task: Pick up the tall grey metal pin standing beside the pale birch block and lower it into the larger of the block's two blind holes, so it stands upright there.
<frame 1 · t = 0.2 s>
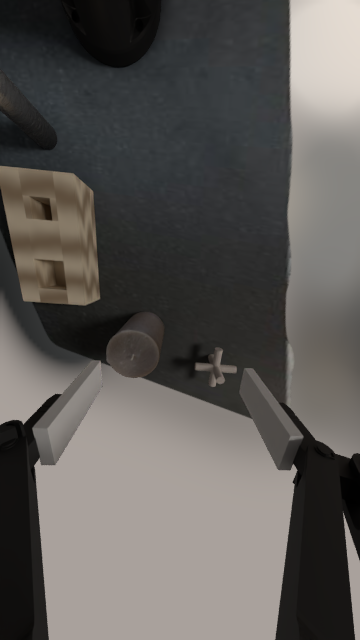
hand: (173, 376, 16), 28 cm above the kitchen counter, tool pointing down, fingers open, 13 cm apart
pipe connector: (211, 356, 47), on the kitchen counter
pillar candle: (145, 328, 44), on the kitchen counter
pin: (45, 136, 32), on the kitchen counter
hole block: (68, 247, 37), on the kitchen counter
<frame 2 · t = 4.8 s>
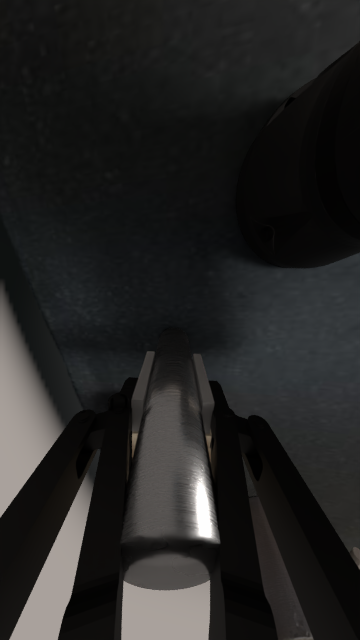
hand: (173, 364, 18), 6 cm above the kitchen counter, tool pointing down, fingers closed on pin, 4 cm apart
pillar candle: (254, 508, 35), on the kitchen counter
pin: (173, 341, 23), on the kitchen counter, touching gripper
when the fingers open (8 cm above the kitchen counter, at t = 11.1 s): pin stays where it is, resting on hole block.
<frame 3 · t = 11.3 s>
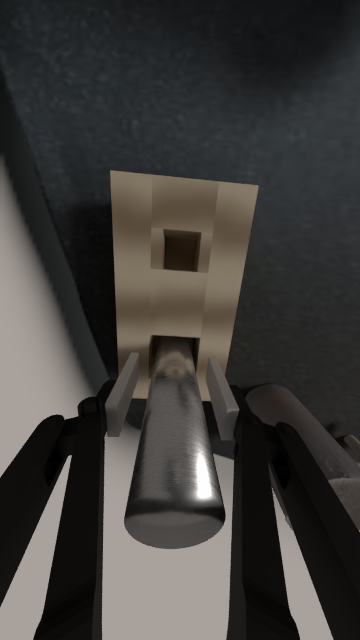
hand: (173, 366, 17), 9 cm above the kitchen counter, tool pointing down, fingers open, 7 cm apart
pipe connector: (347, 437, 33), on the kitchen counter
pillar candle: (265, 404, 30), on the kitchen counter
pin: (173, 338, 24), point 2 cm above the kitchen counter, touching hole block
hole block: (176, 297, 24), on the kitchen counter
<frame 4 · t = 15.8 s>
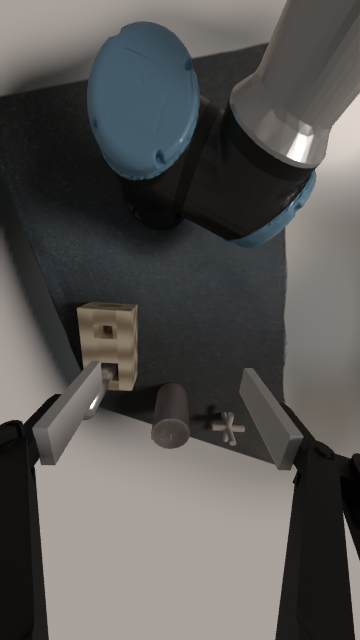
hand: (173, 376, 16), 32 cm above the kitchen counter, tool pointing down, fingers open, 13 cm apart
pipe connector: (223, 413, 58), on the kitchen counter
pillar candle: (171, 394, 55), on the kitchen counter
pin: (115, 360, 49), point 2 cm above the kitchen counter, touching hole block
hole block: (116, 340, 49), on the kitchen counter
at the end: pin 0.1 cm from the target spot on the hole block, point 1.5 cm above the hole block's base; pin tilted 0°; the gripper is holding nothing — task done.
